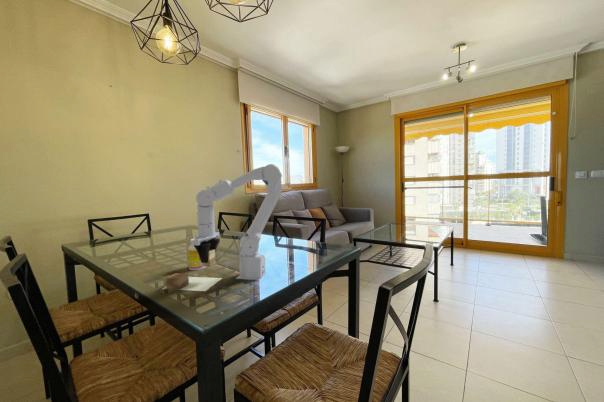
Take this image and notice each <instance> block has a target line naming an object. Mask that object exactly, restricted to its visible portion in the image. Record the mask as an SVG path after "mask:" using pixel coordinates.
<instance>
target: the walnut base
mask: <svg viewBox="0 0 604 402" xmlns="http://www.w3.org/2000/svg"><path fill="white" fill-rule="evenodd" d="M189 277H190V276H189V273H178V272H175V273H173V274H172V275H169V276H168V277H166V278H165V287H166V288H168V289H167V290H172V289H181V288H182V287H184V286H186V285H187V284H189Z"/></svg>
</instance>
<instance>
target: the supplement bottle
mask: <svg viewBox="0 0 604 402" xmlns="http://www.w3.org/2000/svg"><path fill="white" fill-rule="evenodd" d="M193 239H194V238H191V239H190V245H189V246H188V248H187V249H188V268H189V269H188V270H190V271H198V270H202V269H205V268H207V266H200V263H199V254H198V252H197V250H196V249H195V247H194V245H193Z"/></svg>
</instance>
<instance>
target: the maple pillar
mask: <svg viewBox="0 0 604 402" xmlns="http://www.w3.org/2000/svg"><path fill="white" fill-rule="evenodd" d="M199 263H200V266H206V267H212V266H213V265H215V264H216V263H217V262H216V253H215V250H209V255H208V262H207V263H201V260H200V257H199Z"/></svg>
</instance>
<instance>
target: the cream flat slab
mask: <svg viewBox="0 0 604 402" xmlns="http://www.w3.org/2000/svg"><path fill="white" fill-rule="evenodd" d="M222 279H223V277H205V276H204V277H201V276H189V284H187V285H186V286H184V287H182V288H181V289H171V290H175V291H178V290H179V291H196V292H206V291H208V290H209V289H210V288H211V287H213V286H214V285H215V284H217V283H218V282H220V281H221V280H222ZM161 290H169V289H168V288H166V286H164V287H162V288H161Z"/></svg>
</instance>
